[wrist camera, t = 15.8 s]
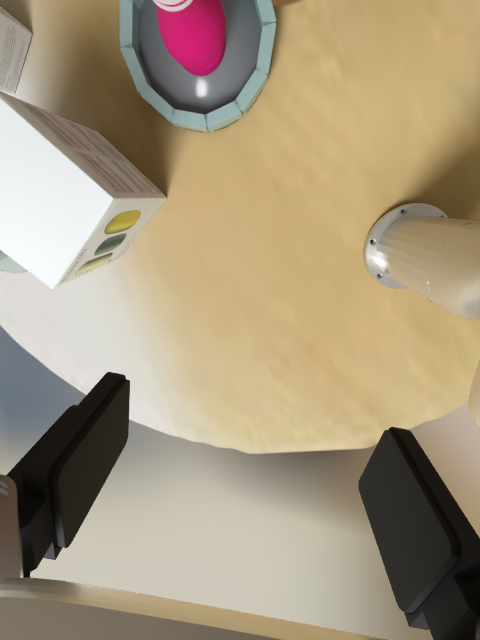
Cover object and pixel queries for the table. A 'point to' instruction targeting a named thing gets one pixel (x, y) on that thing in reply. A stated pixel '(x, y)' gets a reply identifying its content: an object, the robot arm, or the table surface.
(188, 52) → the pepper mill
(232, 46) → the round tray
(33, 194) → the supplement box
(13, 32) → the skincare box
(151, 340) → the table surface
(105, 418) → the robot arm
